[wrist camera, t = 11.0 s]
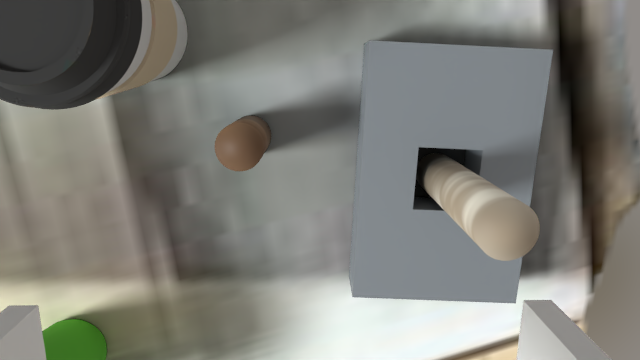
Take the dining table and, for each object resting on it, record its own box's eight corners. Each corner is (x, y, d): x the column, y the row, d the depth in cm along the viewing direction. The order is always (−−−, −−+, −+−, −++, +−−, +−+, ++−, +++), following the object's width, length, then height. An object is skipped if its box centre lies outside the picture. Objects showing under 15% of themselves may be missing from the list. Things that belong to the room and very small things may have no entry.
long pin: (417, 151, 36) (481, 198, 22) (457, 153, 36) (544, 202, 22) (413, 189, 37) (472, 259, 23) (451, 192, 37) (534, 262, 23)
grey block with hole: (364, 43, 34) (369, 40, 31) (529, 52, 34) (553, 49, 31) (349, 277, 38) (352, 297, 35) (497, 282, 38) (515, 303, 35)
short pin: (231, 114, 35) (214, 122, 29) (271, 116, 35) (263, 124, 29) (230, 154, 36) (214, 170, 30) (270, 156, 36) (262, 172, 30)
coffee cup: (222, -2, 33) (151, -62, 19) (178, 116, 35) (81, 147, 21) (98, -59, 33) (-78, -168, 18) (59, 66, 34) (-131, 59, 20)
